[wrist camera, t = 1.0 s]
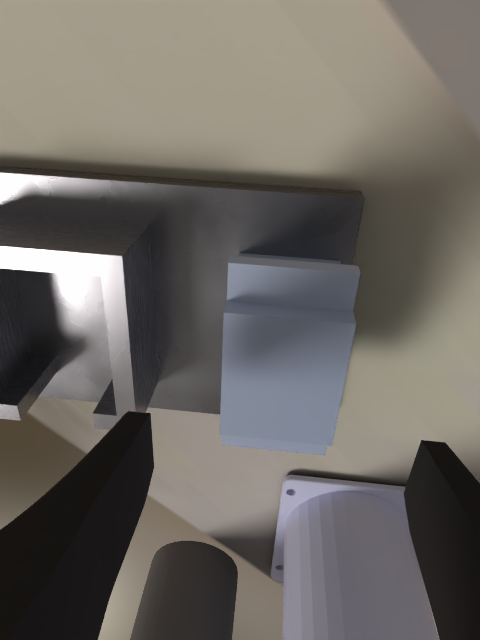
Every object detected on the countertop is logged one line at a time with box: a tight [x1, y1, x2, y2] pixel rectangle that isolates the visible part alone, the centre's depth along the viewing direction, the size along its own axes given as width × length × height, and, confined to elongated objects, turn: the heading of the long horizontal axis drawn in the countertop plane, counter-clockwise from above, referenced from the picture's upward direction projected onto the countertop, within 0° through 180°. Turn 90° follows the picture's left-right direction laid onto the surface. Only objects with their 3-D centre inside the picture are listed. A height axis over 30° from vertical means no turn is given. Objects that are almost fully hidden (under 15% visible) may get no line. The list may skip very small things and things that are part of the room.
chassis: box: [0, 167, 364, 430], centre depth 19 cm, size 11×15×4 cm
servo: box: [220, 253, 360, 455], centre depth 17 cm, size 8×4×5 cm, turn 177°
